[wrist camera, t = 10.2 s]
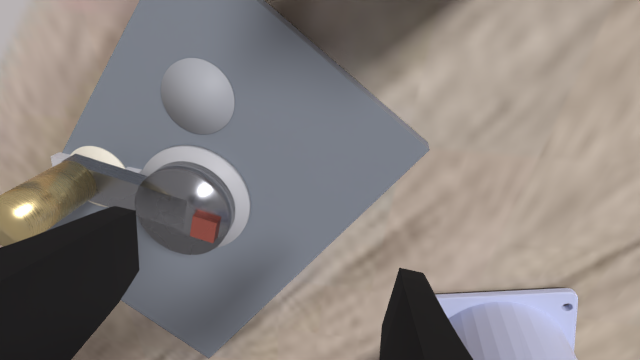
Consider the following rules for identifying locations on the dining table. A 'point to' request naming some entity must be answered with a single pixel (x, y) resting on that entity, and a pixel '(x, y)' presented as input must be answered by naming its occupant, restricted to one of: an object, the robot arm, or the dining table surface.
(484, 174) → the dining table surface
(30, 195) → the brass crank handle
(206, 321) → the plate
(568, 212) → the dining table surface
